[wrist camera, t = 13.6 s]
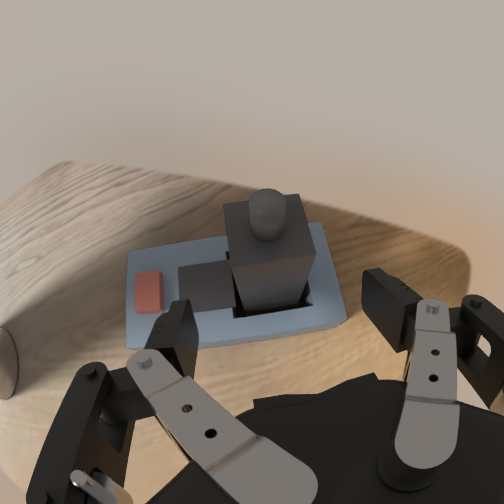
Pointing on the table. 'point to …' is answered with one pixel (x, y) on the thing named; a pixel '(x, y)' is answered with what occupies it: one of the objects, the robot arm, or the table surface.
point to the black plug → (269, 250)
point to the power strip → (222, 294)
